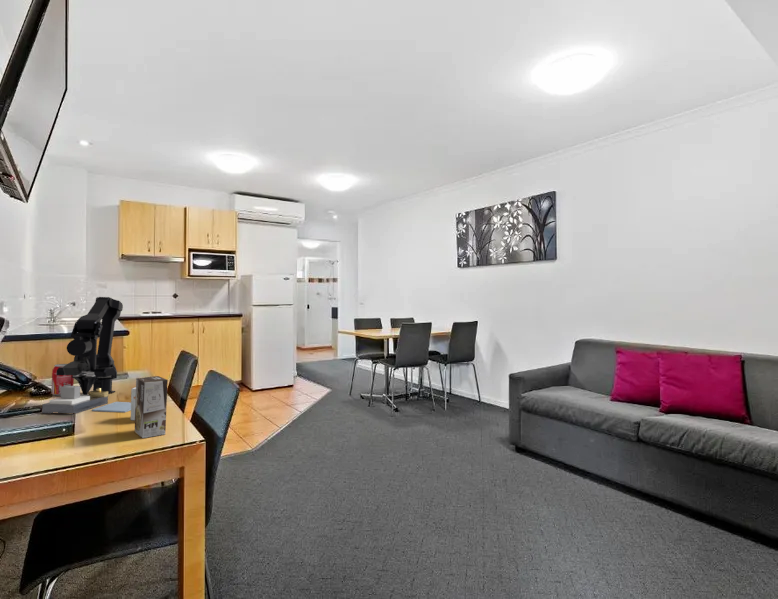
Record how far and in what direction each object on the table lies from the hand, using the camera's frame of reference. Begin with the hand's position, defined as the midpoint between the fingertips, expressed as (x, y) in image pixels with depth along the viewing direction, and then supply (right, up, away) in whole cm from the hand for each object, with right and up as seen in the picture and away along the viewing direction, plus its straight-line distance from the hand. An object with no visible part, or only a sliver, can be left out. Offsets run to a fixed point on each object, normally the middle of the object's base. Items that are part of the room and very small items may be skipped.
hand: (85, 394), depth 154 cm
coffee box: (+42, -5, -31) cm, 52 cm away
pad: (+15, -4, -3) cm, 16 cm away
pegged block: (+5, -1, 0) cm, 5 cm away
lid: (+1, -1, -9) cm, 9 cm away
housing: (+1, -4, -6) cm, 7 cm away
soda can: (-20, -3, +14) cm, 25 cm away
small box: (+32, -5, -16) cm, 37 cm away
